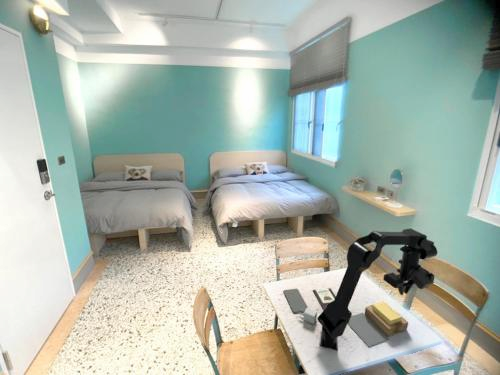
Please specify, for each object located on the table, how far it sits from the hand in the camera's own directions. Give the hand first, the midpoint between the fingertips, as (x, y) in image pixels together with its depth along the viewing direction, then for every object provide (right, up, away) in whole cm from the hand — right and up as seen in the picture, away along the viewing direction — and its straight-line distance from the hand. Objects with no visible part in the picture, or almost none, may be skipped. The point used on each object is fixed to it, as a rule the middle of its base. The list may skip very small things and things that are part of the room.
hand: (403, 293), depth 104 cm
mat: (-17, -13, -2) cm, 21 cm away
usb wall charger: (-39, -12, +3) cm, 41 cm away
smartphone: (-42, -9, +13) cm, 45 cm away
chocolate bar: (-27, -10, +12) cm, 31 cm away
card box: (-7, -8, 0) cm, 11 cm away
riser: (-7, -12, +1) cm, 14 cm away
